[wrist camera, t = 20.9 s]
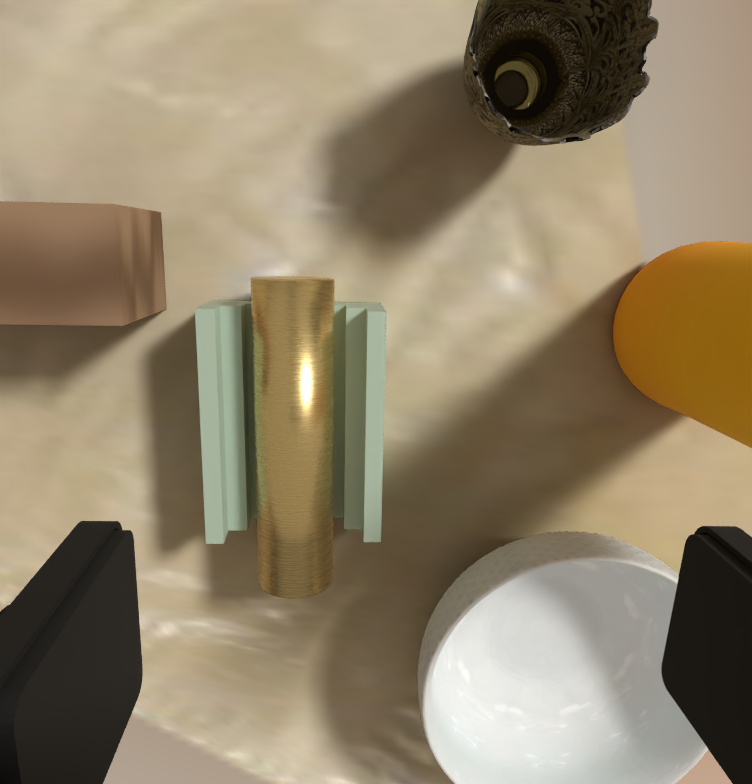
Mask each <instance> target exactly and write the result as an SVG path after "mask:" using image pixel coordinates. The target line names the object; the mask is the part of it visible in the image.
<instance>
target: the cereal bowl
mask: <svg viewBox="0 0 752 784" xmlns="http://www.w3.org/2000/svg"><path fill="white" fill-rule="evenodd" d="M678 578H679V575H677V573H676V572H675V571H674V570H673V569H671V568H669V567H668V566H666V565H665V564H664V563H663V562H662V561H661V560H659V559H656V558H655V557H654V556H652V555H651V554H650V553H648V552H645V551H643V550H642V549H640V548H638V547H635V546H632V545H631V544H629V543H627V542H624V541H621V540H617V539H615V538H613V537H609V536H604V535H601V534H600V535H599V534H597V533H587V532H577V531H576V532H568V531H565V532H560V531H559V532H553V533H552V532H548V533H545V534H543V533H542V534H538V535H531V536H529V537H527V538H522V539H520V540H515V541H513V542H512V543H507V544H506V545H504V546H503V547H498V548H497V549H496V550H495V551H492V552H490V553H489V554H487V555H485V556H483V557H482V558H481V559H479V560H477V561H476V562H475V563H474V564H473V565H471V566H469V567H468V569H467V570H465V571H463V572H462V574H461V575H460V576H459V577H458V578H456V580H455V581H454V583H453V584H452V585H451V586H450V587H449V588H448V590H447V591H446V592H445V593H444V595H443V597H442V598H441V600H440V601H439V602H438V605H437V606H436V607H435V610H434V612H433V613H432V615H431V617H430V619H429V623H428V624H427V627H426V630H425V634H424V637H423V639H422V646H421V650H420V655H419V663H418V679H417V682H418V696H419V709H420V712H421V721H422V724H423V729H424V735H425V737H426V739H427V742H428V745H429V747H430V750H431V752H432V754H433V756H434V757H435V759H436V761H437V763H438V764H439V766H440V767H441V769H442V770H443V772H444V773H445V774H446V775H447V776H448V778H449V779H450V780H451V781H452V782H453V783H454V784H675V783H676V782H677V781H679V780H680V779H681V778H682V777H683V776H684V775H685V774H686V773H687V772H688V771H689V770H690V769H691V768H692V767H693V766H695V764H696V763H697V762H698V761H699V760H700V759H701V758H702V756H703V755H704V754H705V753H706V751H707V750H708V748H707V746H706V745H705V743H704V742H703V741H702V739H701V738H700V736H699V735H698V734H697V732H696V731H695V729H694V728H693V726H692V725H691V724H690V722H689V721H688V719H687V718H686V716H685V715H684V714H683V712H682V711H681V709H680V708H679V707H678V705H677V704H676V702H675V701H674V699H673V698H672V697H671V695H670V694H669V692H668V691H667V689H666V687H665V685H664V682H663V679H662V673H661V666H662V660H663V655H664V650H665V645H666V640H667V635H668V629H669V624H670V619H671V614H672V609H673V604H674V599H675V593H676V588H677V583H678Z"/></svg>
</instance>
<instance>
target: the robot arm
mask: <svg viewBox="0 0 752 784" xmlns="http://www.w3.org/2000/svg"><path fill="white" fill-rule="evenodd" d="M661 673H662V679H663V682H664V685H665V687H666V689H667V691H668V692H669V694H670V695H671V697H672V698H673V699H674V701H675V702H676V704H677V705H678V707H679V708H680V709H681V711H682V712H683V714H684V715H685V716H686V718H687V719H688V721H689V722H690V724H691V725H692V726H693V728H694V729H695V731H696V732H697V734H698V735H699V736H700V738H701V739H702V741H703V742H704V743H705V745H706V746H707V748H708V749H709V750H710V752H711V753H712V755H713V756H714V758H715V759H716V761H717V762H718V763H719V765H720V766H721V767H722V769H723V770H724V772H725V773H726V775H727V776H728V778H729V779H730V780H731V782H732V783H733V784H752V537H751V536H749V535H748V534H747V533H745V532H744V531H743V530H741V529H740V528H738V527H731V526H702V527H700V528H698V529H697V531H696V532H695V534H694V535H690V536H689V537H688V538H687V540H686V543H685V547H684V552H683V558H682V563H681V568H680V573H679V578H678V583H677V588H676V593H675V599H674V604H673V609H672V614H671V619H670V624H669V629H668V635H667V640H666V645H665V650H664V655H663V660H662V666H661ZM141 684H142V655H141V640H140V626H139V611H138V596H137V581H136V567H135V552H134V539H133V534H132V532H131V531H130V530H122V527H121V524H120V523H119V522H118V521H81V522H79V523H78V524H77V525H76V527H75V528H74V529H73V530H72V531H71V533H70V534H69V535H68V536H67V537H66V538H65V540H64V541H63V542H62V543H61V544H60V546H59V547H58V548H57V549H56V550H55V552H54V553H53V554H52V555H51V556H50V558H49V559H48V560H47V561H46V562H45V564H44V565H43V566H42V567H41V568H40V570H39V571H38V572H37V573H36V574H35V576H34V577H33V578H32V579H31V580H30V582H29V583H28V584H27V585H26V586H25V588H24V589H23V590H22V591H21V592H20V593H19V595H18V596H17V597H16V598H15V599H14V601H13V602H12V603H11V604H10V605H8V606H6V607H5V608H4V609H3V610H2V611H1V612H0V784H103V782H104V779H105V777H106V774H107V772H108V769H109V767H110V764H111V762H112V760H113V757H114V755H115V752H116V750H117V747H118V744H119V743H120V740H121V738H122V735H123V733H124V730H125V728H126V725H127V723H128V721H129V718H130V716H131V713H132V711H133V708H134V706H135V704H136V701H137V699H138V696H139V693H140V689H141Z"/></svg>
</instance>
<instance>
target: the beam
mask: <svg viewBox="0 0 752 784" xmlns="http://www.w3.org/2000/svg"><path fill="white" fill-rule="evenodd" d="M165 309H166V293H165V275H164V258H163V240H162V223H161V212H156V211H150V210H144V209H139V208H133V207H127V206H121V205H116V204H83V203H42V202H1V201H0V324H5V325H88V326H124V325H127V324H129V323H132V322H135V321H137V320H140V319H142V318H145V317H147V316H150V315H152V314H155V313H158V312H160V311H163V310H165Z"/></svg>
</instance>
